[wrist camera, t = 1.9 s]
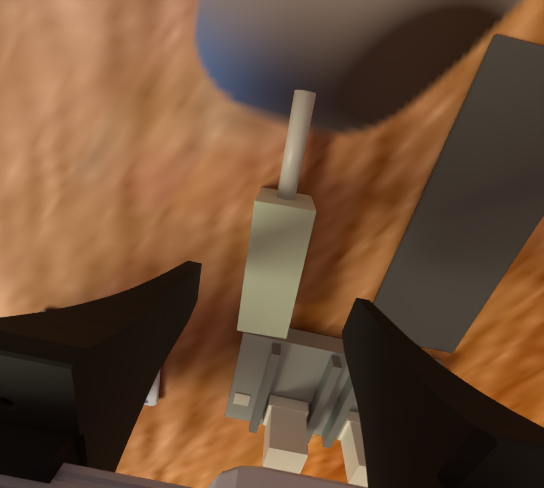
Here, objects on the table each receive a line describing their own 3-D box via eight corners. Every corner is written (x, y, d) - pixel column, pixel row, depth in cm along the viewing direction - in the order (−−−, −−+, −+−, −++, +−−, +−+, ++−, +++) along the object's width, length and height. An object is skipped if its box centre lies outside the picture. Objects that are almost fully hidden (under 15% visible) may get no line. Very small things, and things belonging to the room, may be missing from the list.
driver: (245, 296, 19) (236, 330, 16) (275, 91, 14) (271, 80, 11) (286, 303, 19) (286, 338, 16) (331, 101, 14) (344, 93, 11)
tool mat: (359, 331, 19) (360, 333, 19) (493, 35, 12) (496, 34, 12) (451, 351, 20) (452, 353, 20) (634, 71, 13) (639, 71, 12)
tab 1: (263, 414, 21) (259, 467, 18) (269, 394, 20) (266, 446, 17) (300, 421, 21) (302, 475, 18) (307, 402, 20) (311, 455, 17)
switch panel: (228, 399, 23) (222, 429, 21) (246, 318, 20) (240, 343, 17) (393, 432, 24) (405, 465, 21) (440, 360, 20) (460, 389, 18)
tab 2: (336, 429, 21) (344, 483, 18) (345, 410, 21) (356, 464, 17) (371, 436, 22) (386, 491, 18) (383, 417, 21) (400, 472, 17)
